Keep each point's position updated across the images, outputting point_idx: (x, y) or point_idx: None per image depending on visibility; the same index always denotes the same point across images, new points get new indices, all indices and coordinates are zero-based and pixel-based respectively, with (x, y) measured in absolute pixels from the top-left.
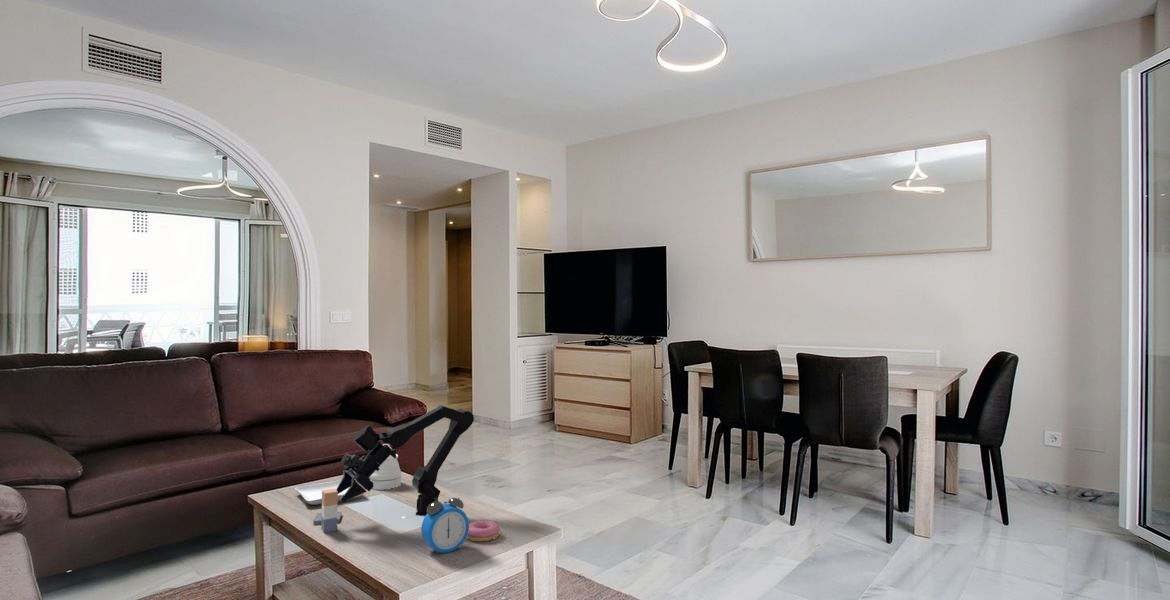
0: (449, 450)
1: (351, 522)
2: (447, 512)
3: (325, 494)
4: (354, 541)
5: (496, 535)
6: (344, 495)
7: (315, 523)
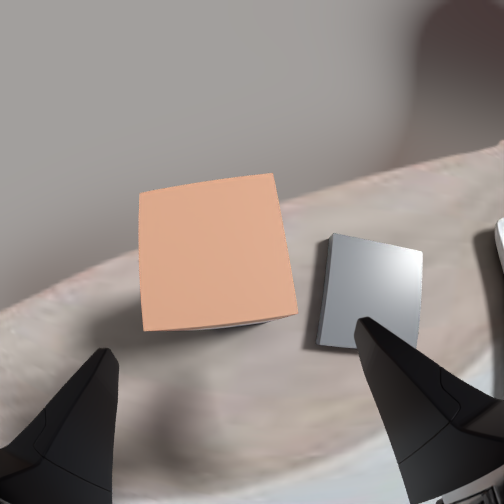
0: None
1: (298, 395)
2: None
3: (144, 206)
4: (74, 366)
5: None
6: (74, 376)
7: (329, 245)
